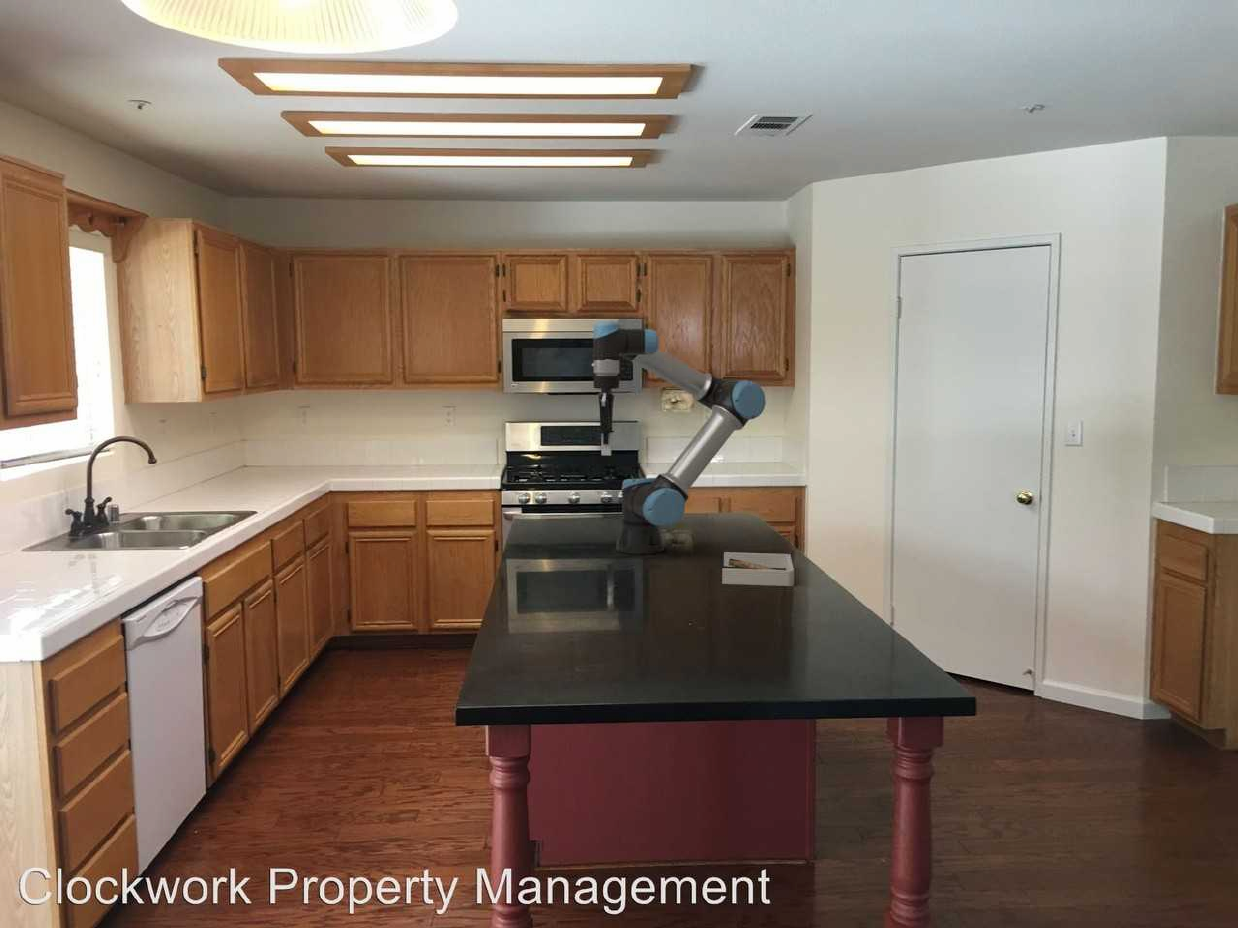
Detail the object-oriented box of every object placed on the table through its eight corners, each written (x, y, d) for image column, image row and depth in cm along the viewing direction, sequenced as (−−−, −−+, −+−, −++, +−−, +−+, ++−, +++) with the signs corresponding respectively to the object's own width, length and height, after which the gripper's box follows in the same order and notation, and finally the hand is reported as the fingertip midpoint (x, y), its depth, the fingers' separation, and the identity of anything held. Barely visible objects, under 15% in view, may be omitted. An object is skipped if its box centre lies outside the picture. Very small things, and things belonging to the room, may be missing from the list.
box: (723, 565, 273) (724, 552, 273) (789, 567, 271) (790, 554, 270) (722, 583, 251) (722, 569, 251) (793, 586, 249) (794, 571, 248)
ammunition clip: (760, 566, 265) (784, 571, 254) (759, 572, 265) (783, 577, 254) (729, 558, 261) (752, 563, 250) (728, 564, 260) (751, 569, 249)
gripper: (597, 374, 277) (597, 452, 280) (590, 375, 264) (590, 457, 267) (621, 374, 276) (621, 453, 279) (616, 375, 263) (615, 457, 266)
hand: (606, 455), depth 273 cm, fingers closed
